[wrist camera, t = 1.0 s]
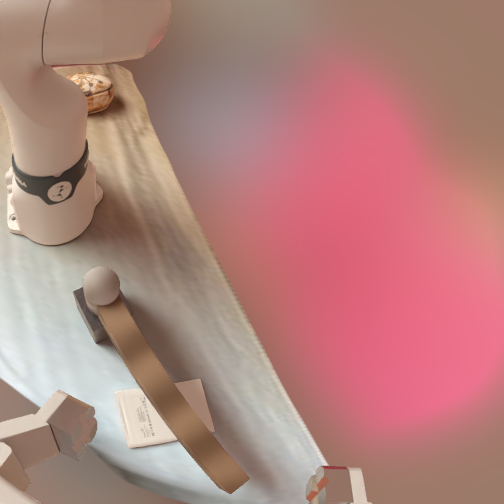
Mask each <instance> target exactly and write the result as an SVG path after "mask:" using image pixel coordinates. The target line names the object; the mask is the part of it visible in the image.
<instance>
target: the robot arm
mask: <svg viewBox="0 0 504 504" xmlns="http://www.w3.org/2000/svg"><path fill="white" fill-rule="evenodd" d="M170 18H171V1H170V0H0V106H1V108H2V110H3V112H4V115H5V117H6V120H7V124H8V129H9V134H10V139H11V144H12V149H13V154H12V166H11V167H10V169H9V172H7V173H6V184H7V185H8V228H9V231H10V232H12V233H15V234H22V235H25V236H26V237H28V238H29V239H31V240H33V241H34V242H37V243H40V244H44V245H58V244H62V243H66V242H68V241H70V240H72V239H74V238H76V237H77V236H79V235H80V234H81V233H82V232H83V231H84V230H85V229H86V228H87V227H88V225H89V223H90V222H91V220H92V217H93V213H94V209H95V207H96V205H97V204H98V203H99V202H100V200H101V199H102V197H103V190H102V189H101V187H100V186H99V185H98V184H97V182H96V174H95V166H94V165H92V164H91V162H90V161H89V160H88V158H89V150H88V142H87V139H86V127H87V115H88V102H87V99H86V96H85V94H84V93H83V91H82V90H81V88H80V87H79V86H78V85H77V84H76V83H75V82H73V81H72V80H70V79H68V78H66V77H64V76H62V75H60V74H58V73H57V72H55V71H54V70H53V69H52V68H51V66H50V65H57V64H84V63H85V64H87V63H88V64H91V63H93V64H102V63H109V62H116V61H122V60H129V59H136V58H142V57H143V56H145V55H146V54H147V53H148V52H150V51H151V50H152V49H153V48H154V47H155V46H156V45H157V44H158V43H159V41H160V40H161V38H162V37H163V36H164V34H165V32H166V30H167V28H168V25H169V22H170ZM13 219H15V220H14V221H13ZM94 415H95V409H94V407H92V406H90V405H88V404H86V403H84V402H82V401H80V400H78V399H76V398H74V397H72V396H70V395H68V394H66V393H64V392H62V391H60V390H58V391H56V392H55V393H54V394H53V395H52V396H51V397H50V399H49V400H48V401H47V402H46V403H45V404H44V405H43V407H42V408H41V409H40V410H39V411H38V413H37V414H36V415H33V414H30V415H26V416H23V417H19V418H15V419H12V420H8V421H4V422H0V504H42V503H40V502H39V501H37V500H35V499H34V498H32V497H31V496H29V495H28V494H26V493H25V491H26V490H27V488H28V487H29V485H30V484H31V482H30V479H29V477H28V476H27V474H26V473H25V471H24V469H27V468H29V467H31V466H34V465H36V464H38V463H40V462H42V461H45V460H47V459H49V458H51V457H53V456H55V455H57V454H59V453H60V452H61V453H63V454H64V455H66V456H68V457H71V458H72V459H74V460H76V461H80V459H81V458H82V456H83V455H84V453H85V451H86V445H85V444H87V443H89V442H92V440H93V438H94V437H95V434H96V431H97V420H96V419H95V418H94V417H93V416H94ZM306 499H307V500H308V501H309V502H310V503H309V504H372V503H371V502H367V497H366V491H365V485H364V481H363V476H362V470H361V469H360V468H353V467H351V468H350V467H335V466H320V467H318V469H317V470H316V475H314V476H312V477H311V478H310V480H309V481H308V484H307V487H306Z"/></svg>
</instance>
